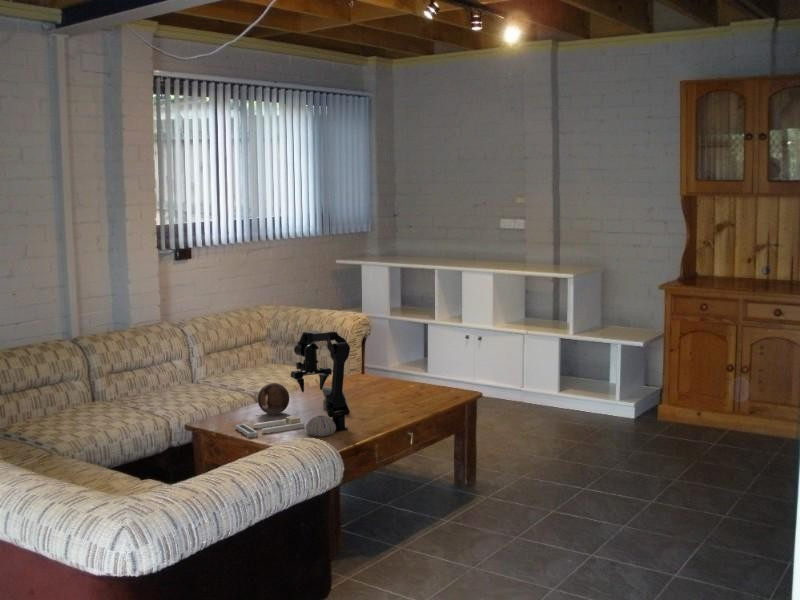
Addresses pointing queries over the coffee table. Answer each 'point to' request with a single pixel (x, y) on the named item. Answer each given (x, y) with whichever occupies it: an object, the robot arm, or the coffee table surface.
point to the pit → (251, 432)
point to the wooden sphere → (273, 398)
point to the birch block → (292, 420)
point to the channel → (278, 428)
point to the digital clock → (327, 391)
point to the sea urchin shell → (320, 426)
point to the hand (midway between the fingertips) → (311, 391)
